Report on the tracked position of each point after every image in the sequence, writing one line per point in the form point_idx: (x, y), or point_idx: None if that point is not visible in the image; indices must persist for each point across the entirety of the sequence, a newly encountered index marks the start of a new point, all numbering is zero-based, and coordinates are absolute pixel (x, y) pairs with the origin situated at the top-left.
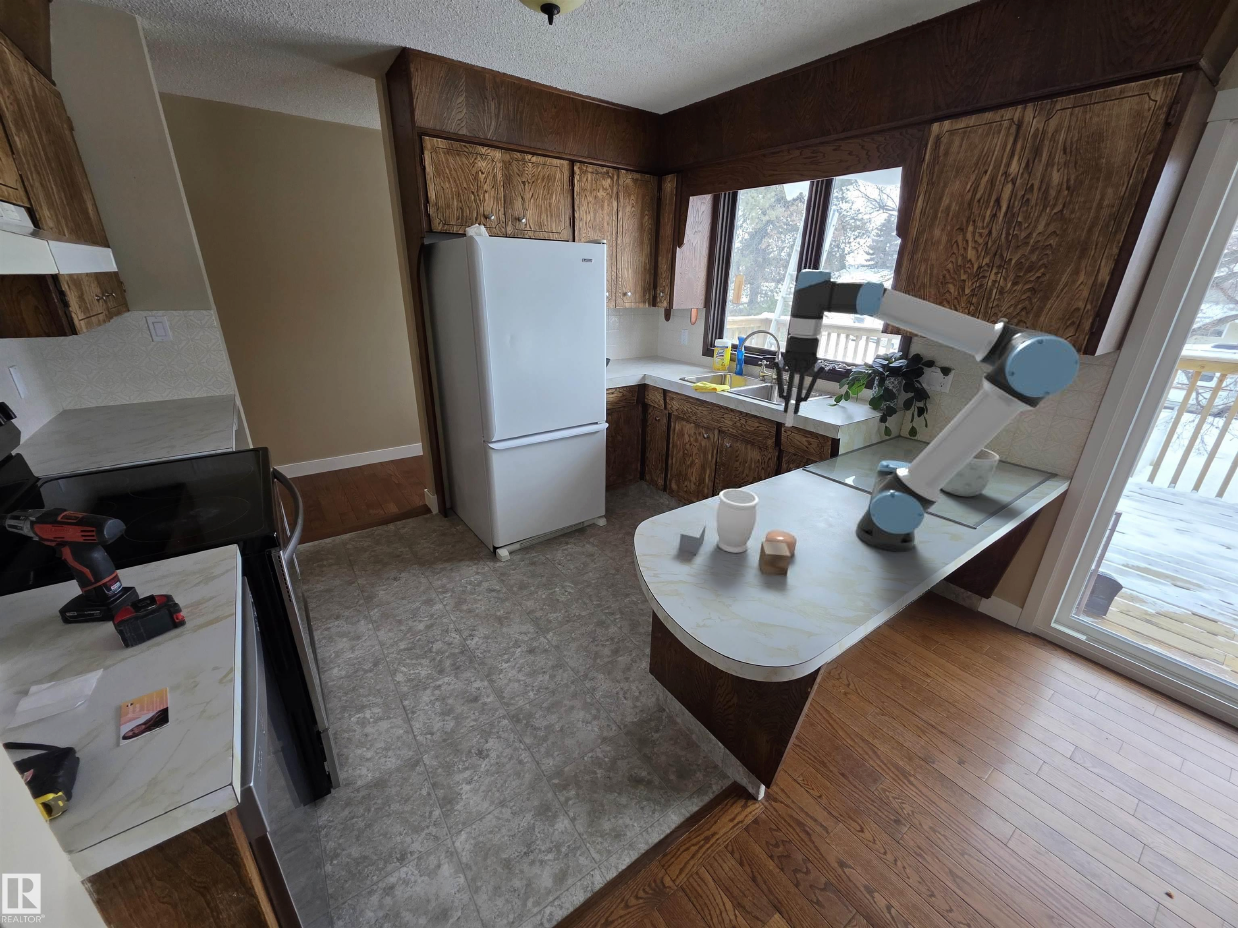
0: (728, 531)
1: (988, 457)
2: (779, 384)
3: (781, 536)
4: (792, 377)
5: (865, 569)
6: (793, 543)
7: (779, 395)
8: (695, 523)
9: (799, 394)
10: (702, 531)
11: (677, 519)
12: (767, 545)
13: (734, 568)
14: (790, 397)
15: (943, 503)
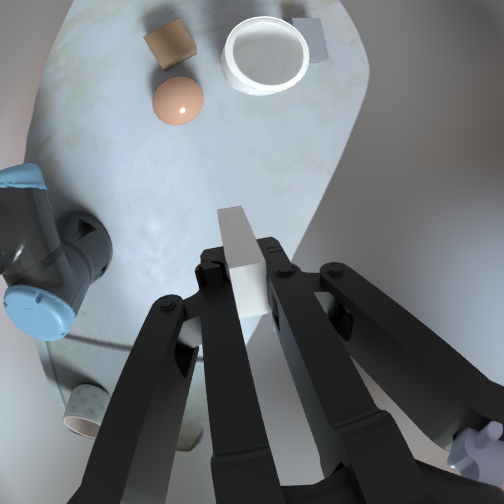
0: (255, 33)
1: (79, 427)
2: (397, 317)
3: (178, 104)
4: (337, 414)
5: (68, 141)
6: (155, 96)
7: (345, 271)
8: (315, 55)
9: (214, 318)
10: None
11: (348, 102)
12: (184, 40)
13: (221, 17)
14: (275, 308)
15: (85, 365)
